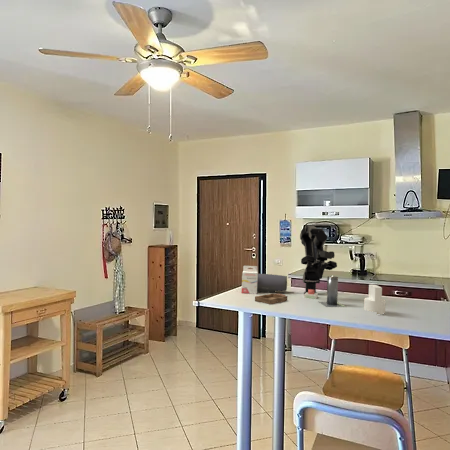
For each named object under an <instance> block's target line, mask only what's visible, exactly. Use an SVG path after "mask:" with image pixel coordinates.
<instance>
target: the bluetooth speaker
mask: <svg viewBox="0 0 450 450" xmlns="http://www.w3.org/2000/svg"><path fill="white" fill-rule="evenodd" d="M287 276H288V275H287ZM287 276H286V275H279V274H272V273H271V274H270V273H258V282H257V293H259V292H260V293H271V294H276V292H286V291H287V289H288V280H287V279H288V277H287Z"/></svg>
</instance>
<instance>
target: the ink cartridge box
mask: <svg viewBox="0 0 450 450" xmlns="http://www.w3.org/2000/svg"><path fill="white" fill-rule="evenodd" d="M242 270H243V271H242V272H241V274H242V275H241V294H247V295H248V294H249V295H252V294H253V295H256V294H258V291H257V282H258V274H259V272H258V266H257V265H243V266H242Z"/></svg>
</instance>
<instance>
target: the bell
mask: <svg viewBox="0 0 450 450" xmlns="http://www.w3.org/2000/svg"><path fill="white" fill-rule="evenodd" d="M326 283H327V284H326V286H327V287H326V302H327V304H328V305H337V302H338V298H339V297H338V295H339V293H338V292H339V291H338V289H339V288H338V287H339V277H338V276H335V275H331V276H330V275H329V276H327V281H326Z"/></svg>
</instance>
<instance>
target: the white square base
mask: <svg viewBox="0 0 450 450" xmlns="http://www.w3.org/2000/svg"><path fill="white" fill-rule="evenodd" d="M303 294H304V293H303ZM303 297H304V299H313V300H316V299H318V298H319V293H318V292H317V293H314V294H308V292H306V293H305V294H304V295H303Z"/></svg>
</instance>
